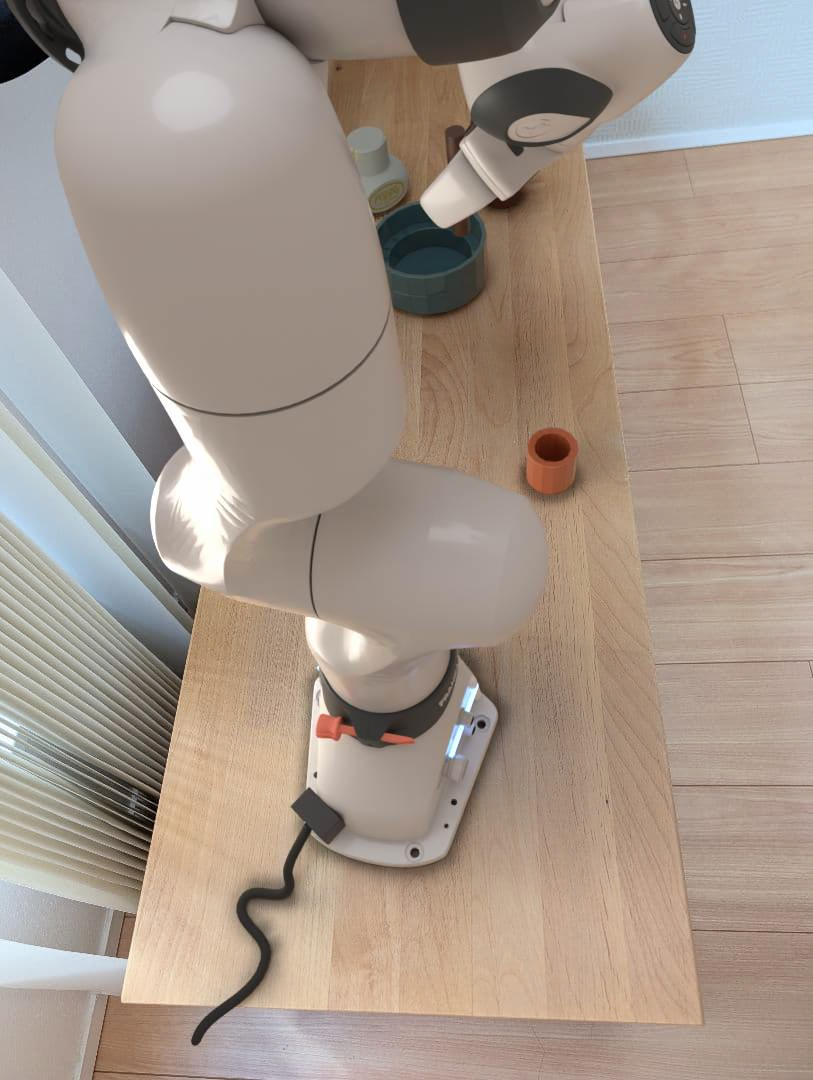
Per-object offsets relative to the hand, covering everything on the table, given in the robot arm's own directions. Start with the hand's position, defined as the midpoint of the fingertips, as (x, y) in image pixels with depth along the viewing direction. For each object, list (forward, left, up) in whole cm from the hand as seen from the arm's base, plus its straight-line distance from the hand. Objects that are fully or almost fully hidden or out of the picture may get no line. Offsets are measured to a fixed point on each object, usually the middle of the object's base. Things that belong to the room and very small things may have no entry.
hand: (452, 179), depth 83 cm
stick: (0, -1, -6) cm, 6 cm away
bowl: (+10, +6, -23) cm, 25 cm away
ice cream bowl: (+28, -1, -23) cm, 36 cm away
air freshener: (+26, +18, -23) cm, 39 cm away
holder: (-21, -14, -23) cm, 34 cm away
